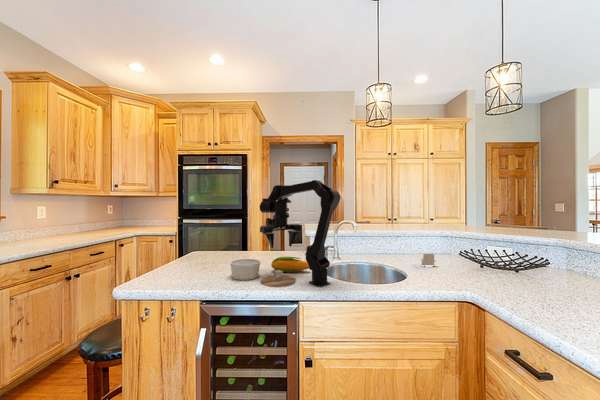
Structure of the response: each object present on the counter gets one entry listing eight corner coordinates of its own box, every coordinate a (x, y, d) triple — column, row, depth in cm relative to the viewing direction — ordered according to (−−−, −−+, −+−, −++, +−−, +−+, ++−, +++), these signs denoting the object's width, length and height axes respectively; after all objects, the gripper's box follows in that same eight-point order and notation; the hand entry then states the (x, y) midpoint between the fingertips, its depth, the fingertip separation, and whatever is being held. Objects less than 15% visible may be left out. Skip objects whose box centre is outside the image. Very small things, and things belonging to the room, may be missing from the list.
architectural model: (420, 266, 143) (420, 252, 143) (433, 266, 143) (433, 252, 143) (423, 268, 140) (423, 253, 140) (436, 268, 139) (436, 253, 139)
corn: (273, 253, 135) (312, 255, 132) (273, 268, 135) (312, 270, 133) (269, 258, 127) (311, 259, 125) (269, 273, 128) (311, 275, 125)
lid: (302, 283, 112) (302, 272, 112) (270, 290, 104) (270, 277, 104) (284, 275, 125) (284, 265, 125) (254, 280, 116) (254, 269, 116)
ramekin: (263, 273, 127) (263, 258, 127) (256, 281, 114) (256, 265, 114) (236, 272, 128) (236, 258, 128) (225, 280, 115) (225, 264, 115)
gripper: (290, 212, 134) (290, 243, 134) (254, 213, 124) (255, 246, 124) (301, 212, 124) (302, 246, 124) (264, 213, 114) (265, 250, 114)
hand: (281, 247), depth 122 cm, fingers open, 9 cm apart
